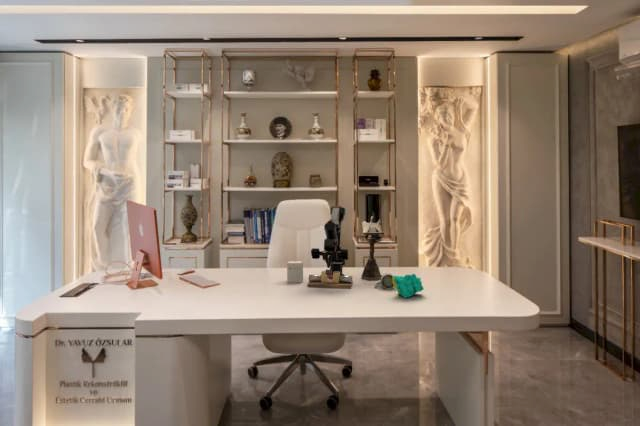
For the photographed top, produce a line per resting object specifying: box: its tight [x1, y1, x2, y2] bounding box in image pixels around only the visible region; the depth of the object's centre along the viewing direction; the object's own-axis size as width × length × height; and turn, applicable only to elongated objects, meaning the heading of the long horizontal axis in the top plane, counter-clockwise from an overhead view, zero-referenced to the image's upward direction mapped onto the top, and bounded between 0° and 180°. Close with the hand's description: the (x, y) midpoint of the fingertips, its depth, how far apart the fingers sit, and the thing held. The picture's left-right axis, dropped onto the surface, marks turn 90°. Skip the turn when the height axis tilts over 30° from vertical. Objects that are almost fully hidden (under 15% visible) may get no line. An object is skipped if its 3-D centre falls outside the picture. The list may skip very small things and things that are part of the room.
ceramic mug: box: [374, 272, 395, 290], centre depth 248 cm, size 10×8×7 cm
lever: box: [325, 268, 333, 280], centre depth 248 cm, size 2×3×11 cm
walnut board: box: [307, 279, 354, 290], centre depth 253 cm, size 12×22×2 cm, turn 81°
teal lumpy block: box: [392, 273, 424, 299], centre depth 230 cm, size 15×12×13 cm
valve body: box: [308, 270, 353, 284], centre depth 252 cm, size 4×22×6 cm, turn 81°
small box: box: [286, 260, 304, 283], centre depth 261 cm, size 8×6×10 cm
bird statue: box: [361, 215, 385, 281], centre depth 267 cm, size 17×13×35 cm
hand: (328, 267), depth 243 cm, fingers closed
